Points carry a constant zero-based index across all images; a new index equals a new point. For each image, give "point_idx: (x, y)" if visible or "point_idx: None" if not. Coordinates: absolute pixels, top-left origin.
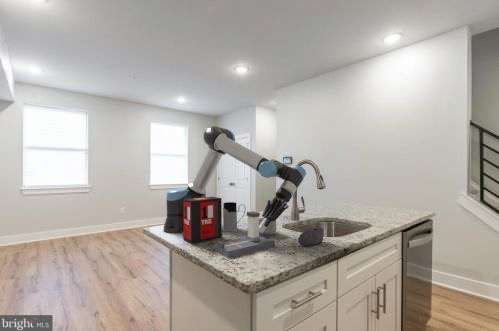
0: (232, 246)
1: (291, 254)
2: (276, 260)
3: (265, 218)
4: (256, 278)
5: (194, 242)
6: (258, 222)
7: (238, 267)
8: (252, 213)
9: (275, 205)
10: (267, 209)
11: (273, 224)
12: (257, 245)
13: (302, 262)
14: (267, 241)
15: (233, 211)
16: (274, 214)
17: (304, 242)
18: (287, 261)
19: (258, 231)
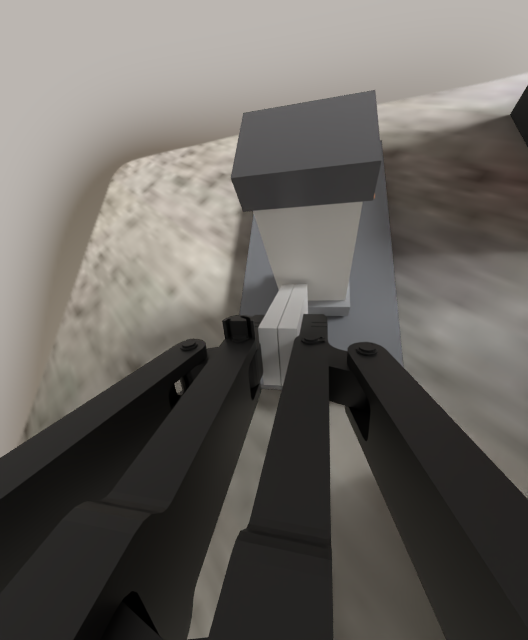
0: None
1: (123, 363)
2: (137, 280)
3: (275, 326)
4: (119, 184)
5: (519, 117)
6: (264, 242)
7: (189, 176)
8: (259, 111)
9: (95, 524)
10: (404, 465)
11: None
12: (246, 274)
13: (63, 334)
14: None
15: None
16: (148, 369)
17: None
18: (105, 302)
19: (277, 281)
